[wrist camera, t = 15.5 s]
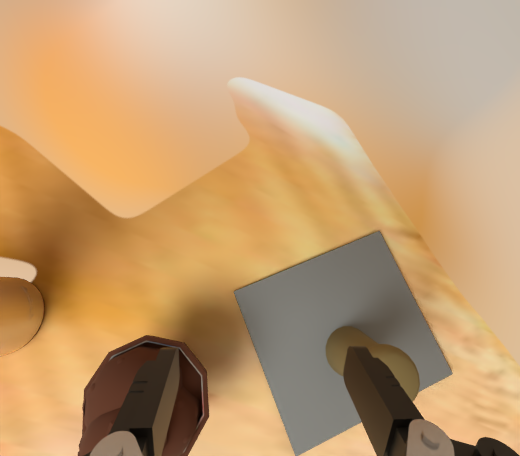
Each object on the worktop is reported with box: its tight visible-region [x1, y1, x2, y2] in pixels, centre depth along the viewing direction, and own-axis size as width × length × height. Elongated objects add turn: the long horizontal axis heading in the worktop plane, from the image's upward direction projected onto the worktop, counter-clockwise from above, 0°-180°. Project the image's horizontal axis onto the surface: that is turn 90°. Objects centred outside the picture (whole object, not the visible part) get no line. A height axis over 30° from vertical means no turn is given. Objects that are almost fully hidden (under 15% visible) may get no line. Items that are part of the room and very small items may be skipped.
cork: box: [326, 326, 420, 402], centre depth 28 cm, size 6×6×11 cm
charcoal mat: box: [234, 231, 453, 456], centre depth 34 cm, size 22×20×1 cm
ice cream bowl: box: [78, 335, 209, 456], centre depth 25 cm, size 11×11×15 cm
